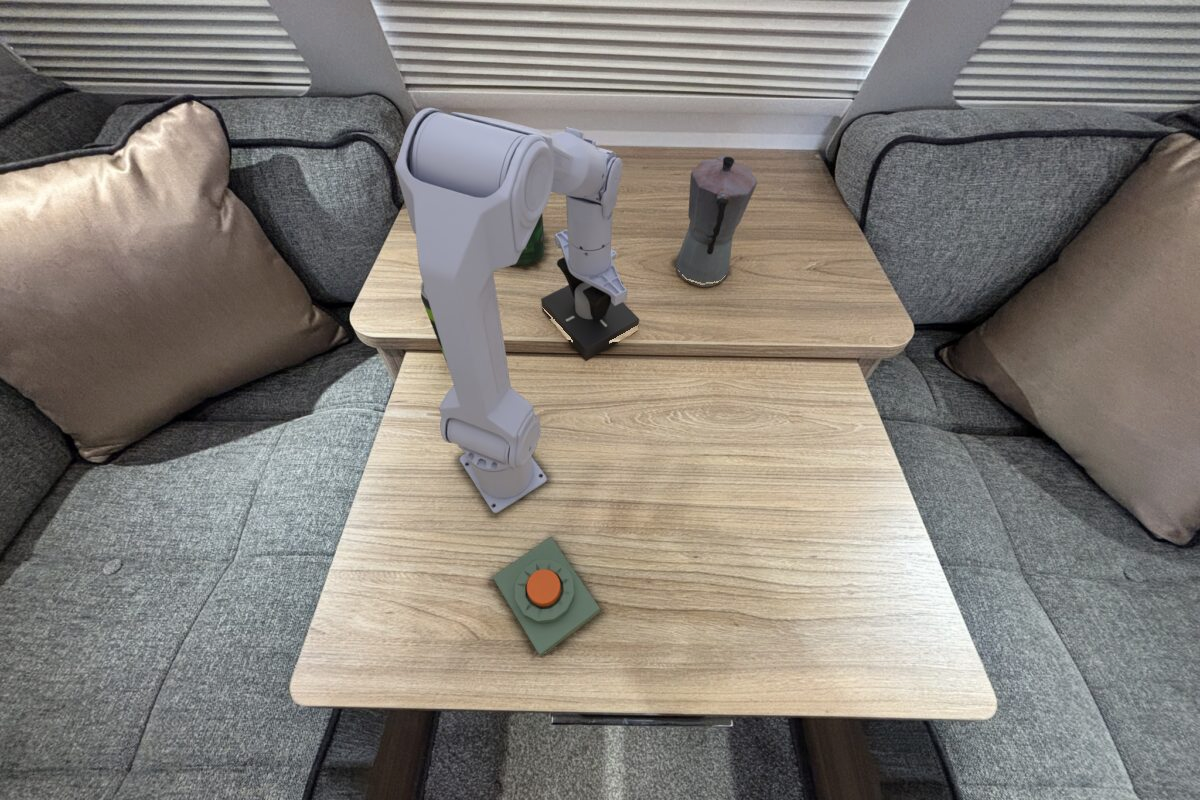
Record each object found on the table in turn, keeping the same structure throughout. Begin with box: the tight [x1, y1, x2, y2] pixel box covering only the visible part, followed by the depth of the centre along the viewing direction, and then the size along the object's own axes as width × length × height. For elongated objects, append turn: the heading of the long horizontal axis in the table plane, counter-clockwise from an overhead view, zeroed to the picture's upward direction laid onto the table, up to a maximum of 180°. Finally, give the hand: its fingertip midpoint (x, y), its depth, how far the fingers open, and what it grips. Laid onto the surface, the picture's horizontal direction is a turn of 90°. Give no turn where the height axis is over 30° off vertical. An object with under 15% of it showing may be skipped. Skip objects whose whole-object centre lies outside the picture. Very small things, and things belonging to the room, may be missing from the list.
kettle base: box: [492, 536, 601, 658], centre depth 60 cm, size 10×8×4 cm
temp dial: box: [575, 282, 593, 319], centre depth 79 cm, size 4×4×4 cm
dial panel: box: [540, 284, 640, 362], centre depth 82 cm, size 12×10×3 cm
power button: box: [527, 569, 561, 607], centre depth 58 cm, size 4×4×2 cm
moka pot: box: [675, 154, 758, 288], centre depth 81 cm, size 10×15×20 cm, turn 174°
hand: (589, 306), depth 81 cm, fingers closed on temp dial, 4 cm apart
